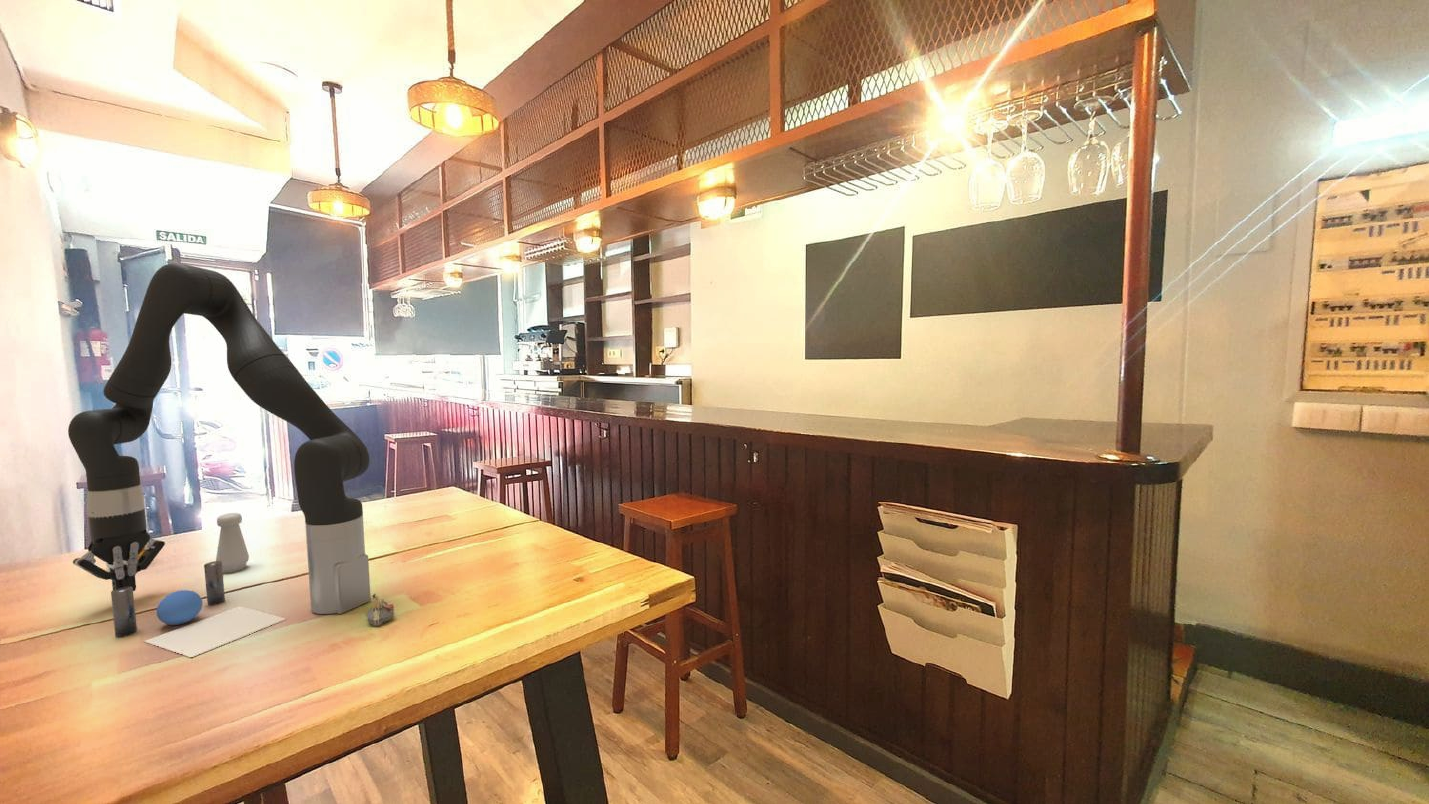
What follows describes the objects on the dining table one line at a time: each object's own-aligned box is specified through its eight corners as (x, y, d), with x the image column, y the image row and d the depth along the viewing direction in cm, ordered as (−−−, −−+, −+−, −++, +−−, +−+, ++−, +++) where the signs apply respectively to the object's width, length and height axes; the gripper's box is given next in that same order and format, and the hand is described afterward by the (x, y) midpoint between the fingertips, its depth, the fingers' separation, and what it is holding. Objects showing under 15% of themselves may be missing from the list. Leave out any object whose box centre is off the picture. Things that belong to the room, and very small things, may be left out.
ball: (193, 613, 104) (211, 617, 102) (152, 628, 99) (169, 633, 96) (189, 582, 104) (207, 586, 101) (147, 596, 98) (164, 601, 96)
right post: (228, 600, 109) (224, 561, 109) (212, 606, 107) (208, 566, 106) (220, 598, 110) (217, 560, 110) (204, 604, 108) (201, 564, 107)
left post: (140, 631, 97) (135, 587, 97) (119, 638, 95) (115, 593, 94) (132, 628, 98) (128, 585, 98) (112, 635, 96) (107, 591, 95)
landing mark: (286, 619, 101) (285, 618, 101) (191, 658, 88) (190, 657, 88) (240, 607, 106) (240, 606, 106) (144, 642, 93) (144, 641, 93)
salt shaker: (219, 576, 121) (214, 519, 120) (213, 570, 125) (208, 515, 124) (253, 568, 126) (248, 513, 125) (246, 563, 130) (241, 509, 128)
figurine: (370, 615, 102) (368, 586, 101) (397, 612, 104) (395, 583, 103) (363, 632, 98) (361, 602, 96) (391, 629, 99) (390, 599, 98)
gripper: (77, 521, 100) (87, 613, 101) (171, 503, 112) (178, 585, 113) (57, 517, 103) (67, 606, 104) (151, 500, 115) (158, 579, 116)
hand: (125, 595), depth 109 cm, fingers closed
